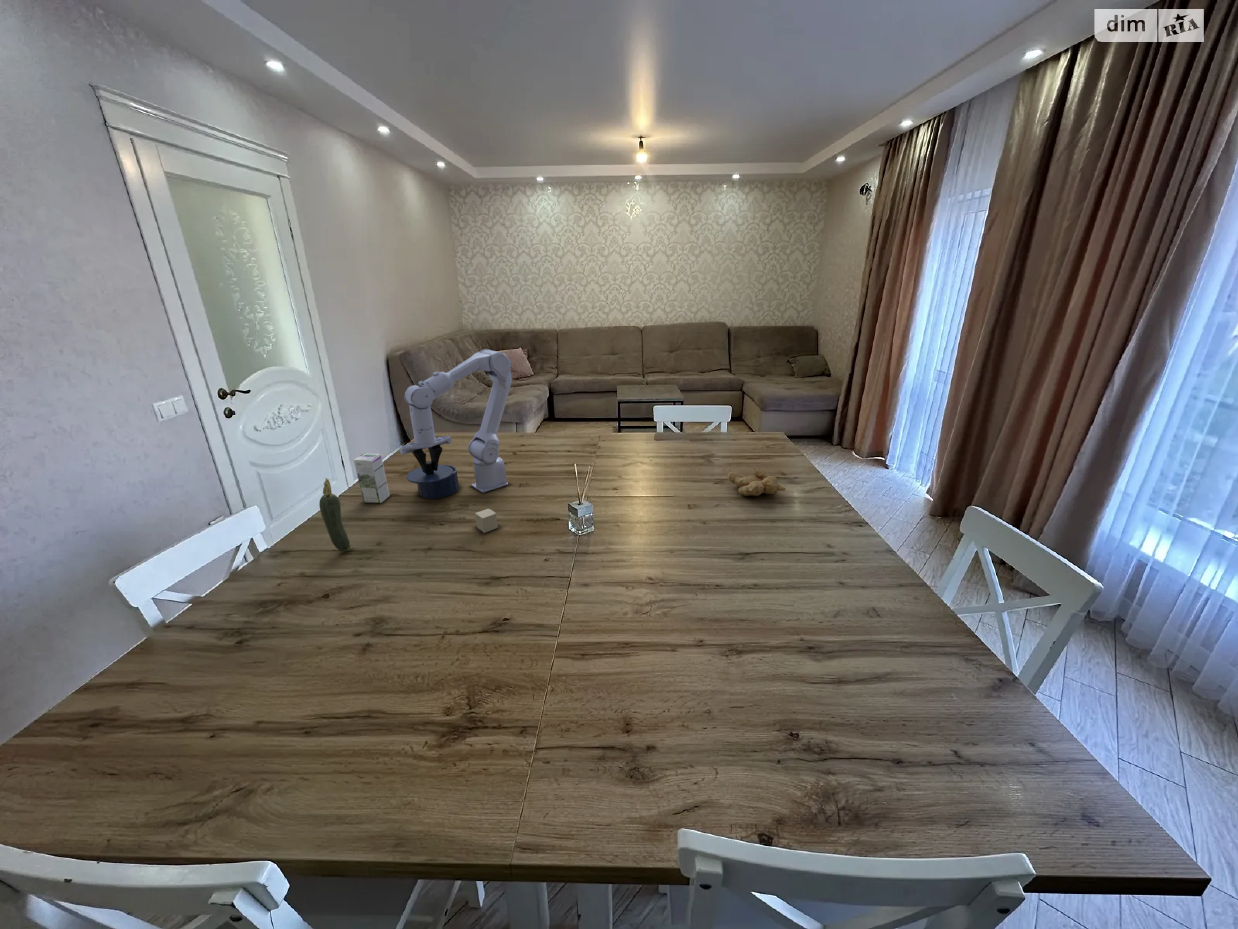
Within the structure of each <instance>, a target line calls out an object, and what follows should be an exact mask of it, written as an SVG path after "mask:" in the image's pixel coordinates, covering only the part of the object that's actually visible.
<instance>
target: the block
mask: <svg viewBox="0 0 1238 929" xmlns="http://www.w3.org/2000/svg"><path fill="white" fill-rule="evenodd" d="M474 514H475V516H474V517H475V524H476V528H477V529H478V530H479V531H481V532H482V533H484V534H486V533H489V532H490V531H493V530H495V529H498V528H499V524H498V517H497V515H498V514H497V513H496V512H495V511H494V510H492V509H490V508H485V509H483V510H480V511H476V512H475V513H474Z"/></svg>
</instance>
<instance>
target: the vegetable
mask: <svg viewBox="0 0 1238 929" xmlns="http://www.w3.org/2000/svg"><path fill="white" fill-rule="evenodd" d="M324 479H325V481H324V482H323V488H322V494H323V495H322V496H321V497H320V499H319V502H318V503H319V505H318V506H319V510H320V515H321V518H322V520H323V523H324V526H325V527H326V531H327V533H328V536H329V538H330V540H331V543H332V544H333V546H334V547H335V548H336V549H337V550H338V551H340V552H343V553H345V552H347V551H350V549H351V542H350V538H349V537H348V536H349V535H348V534H347V531H346V529H345V526H344V524H343V519H342V510H341V508H342V506H341V500H340V499H339V497H338V496H337V495H336V494H335V493H332V485H331V482H330V479H329V478H327V477H325V478H324Z"/></svg>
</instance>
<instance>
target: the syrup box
mask: <svg viewBox="0 0 1238 929" xmlns="http://www.w3.org/2000/svg"><path fill="white" fill-rule="evenodd" d="M353 463H354V469H355V471H356V476H357V481H358V484H359V489H360V493H361V497H362V501H363V502H362V503H364V504H365V503H367V504H382V503H383V502H385V501H386V500H387V499H388V498H389V497H391V493H390V489H389V485H388V481H387V476H386V471H385V466H384V461H383V456H382V454H381V453H362V454H360V455H358V456H356V457H355V458H354V459H353Z"/></svg>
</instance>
